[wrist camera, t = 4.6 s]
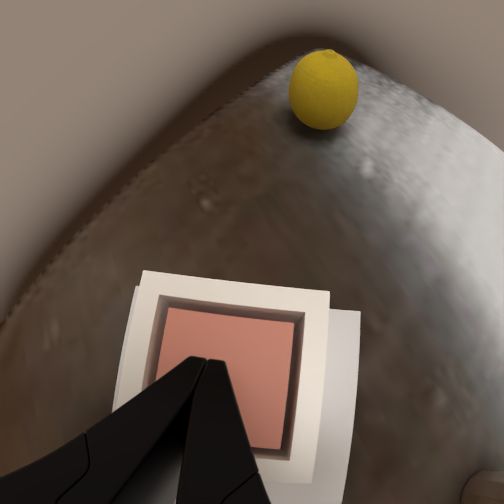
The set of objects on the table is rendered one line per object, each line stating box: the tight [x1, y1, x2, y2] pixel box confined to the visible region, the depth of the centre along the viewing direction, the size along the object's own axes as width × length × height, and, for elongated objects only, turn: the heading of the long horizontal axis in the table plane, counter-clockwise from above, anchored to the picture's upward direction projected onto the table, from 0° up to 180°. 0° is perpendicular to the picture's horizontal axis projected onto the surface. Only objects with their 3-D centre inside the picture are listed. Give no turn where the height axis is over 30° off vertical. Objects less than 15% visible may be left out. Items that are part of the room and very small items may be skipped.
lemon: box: [289, 50, 358, 130], centre depth 23 cm, size 6×6×8 cm
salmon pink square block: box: [156, 308, 294, 449], centre depth 11 cm, size 4×4×3 cm
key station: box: [112, 270, 360, 504], centre depth 12 cm, size 18×14×9 cm
